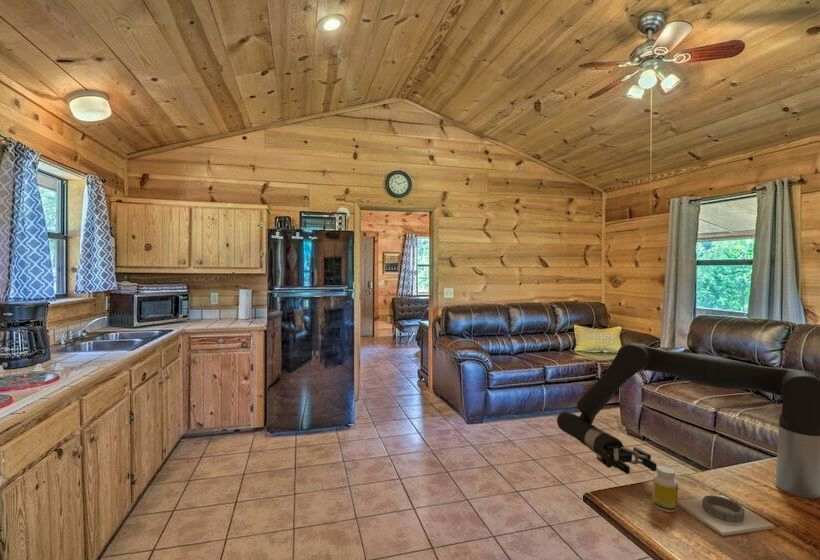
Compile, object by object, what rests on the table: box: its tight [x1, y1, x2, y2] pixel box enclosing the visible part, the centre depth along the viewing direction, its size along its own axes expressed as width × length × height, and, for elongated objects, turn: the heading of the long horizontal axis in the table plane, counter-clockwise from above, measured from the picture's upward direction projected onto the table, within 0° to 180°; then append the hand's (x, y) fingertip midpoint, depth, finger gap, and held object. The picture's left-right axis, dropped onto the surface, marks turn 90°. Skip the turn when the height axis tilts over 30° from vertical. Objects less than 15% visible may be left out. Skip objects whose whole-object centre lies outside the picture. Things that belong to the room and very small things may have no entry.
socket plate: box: [677, 495, 775, 537], centre depth 104 cm, size 15×13×3 cm
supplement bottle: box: [651, 465, 679, 513], centre depth 107 cm, size 5×5×10 cm
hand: (642, 469), depth 115 cm, fingers open, 8 cm apart
